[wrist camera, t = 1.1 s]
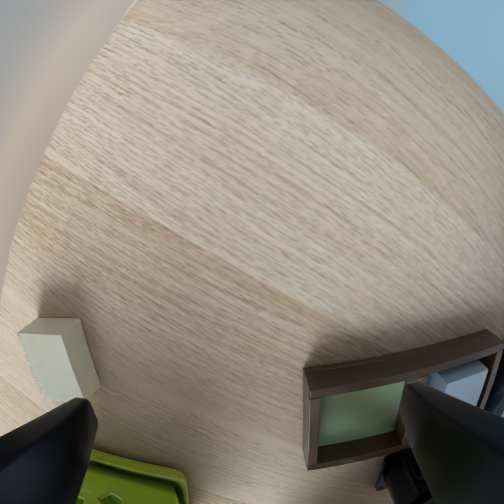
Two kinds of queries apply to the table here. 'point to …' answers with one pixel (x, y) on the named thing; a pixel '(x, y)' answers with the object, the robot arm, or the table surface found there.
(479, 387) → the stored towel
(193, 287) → the table surface
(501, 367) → the electronic device
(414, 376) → the shallow rectangular tray
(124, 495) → the flower pot
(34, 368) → the cream rectangular block
